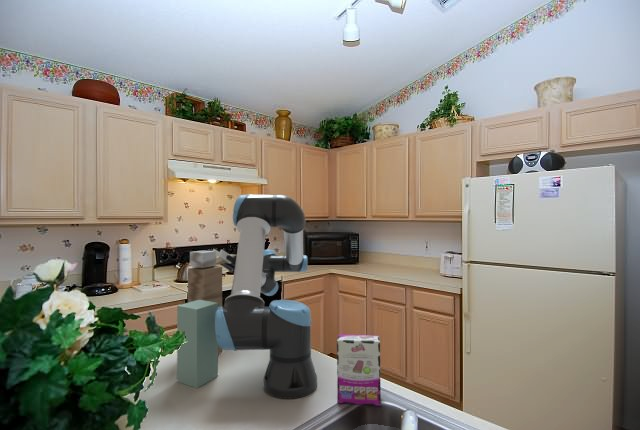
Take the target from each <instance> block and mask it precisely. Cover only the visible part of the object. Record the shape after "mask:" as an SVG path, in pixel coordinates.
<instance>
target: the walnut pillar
mask: <svg viewBox="0 0 640 430" xmlns="http://www.w3.org/2000/svg"><path fill="white" fill-rule="evenodd" d="M196 300H204V301H210V302H216V303H218V307H221V306H222V307H223V266H219V265H218V266H217V265H216V266H211V267H205V268H198V267H188V268H187V303H189V302H192V301H196ZM222 352H223V349H221V348H220V347H219V345H218V355H219V354H221V353H222Z"/></svg>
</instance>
